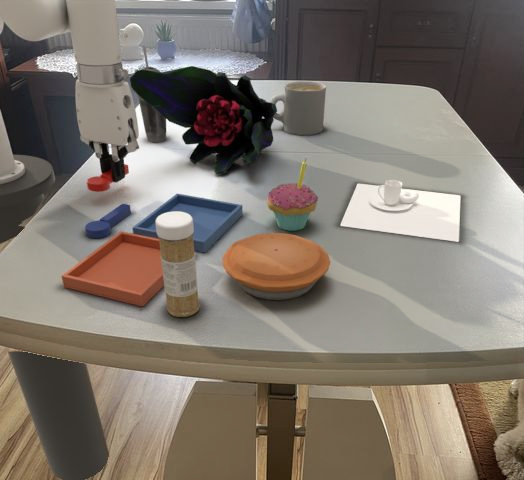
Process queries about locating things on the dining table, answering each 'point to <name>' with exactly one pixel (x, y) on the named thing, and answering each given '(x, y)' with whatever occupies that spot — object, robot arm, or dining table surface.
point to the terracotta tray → (120, 270)
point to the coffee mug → (302, 107)
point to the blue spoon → (107, 222)
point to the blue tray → (195, 218)
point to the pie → (276, 265)
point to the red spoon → (102, 181)
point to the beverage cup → (152, 115)
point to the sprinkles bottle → (178, 262)
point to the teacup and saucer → (404, 211)
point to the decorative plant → (210, 112)
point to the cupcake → (292, 203)
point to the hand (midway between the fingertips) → (114, 178)
